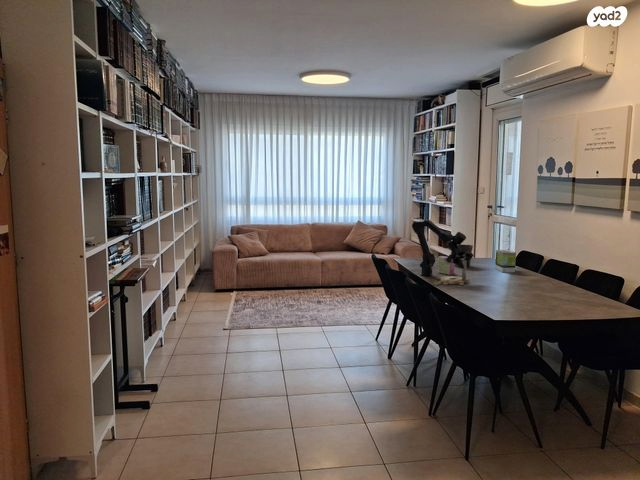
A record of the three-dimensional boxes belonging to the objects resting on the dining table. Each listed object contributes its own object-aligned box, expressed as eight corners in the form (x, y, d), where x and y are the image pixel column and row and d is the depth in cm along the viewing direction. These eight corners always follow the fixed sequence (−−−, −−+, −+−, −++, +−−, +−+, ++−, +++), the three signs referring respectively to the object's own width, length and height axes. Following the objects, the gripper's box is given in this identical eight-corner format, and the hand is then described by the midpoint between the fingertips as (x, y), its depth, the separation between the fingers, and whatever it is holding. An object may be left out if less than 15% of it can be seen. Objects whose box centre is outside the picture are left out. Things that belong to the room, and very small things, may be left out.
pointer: (435, 284, 316) (435, 281, 316) (433, 284, 318) (433, 280, 318) (441, 284, 318) (441, 280, 318) (438, 283, 320) (438, 280, 320)
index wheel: (431, 282, 322) (432, 259, 321) (445, 277, 338) (446, 255, 336) (459, 286, 310) (460, 262, 308) (472, 280, 326) (473, 258, 324)
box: (454, 273, 352) (454, 257, 351) (449, 274, 349) (450, 258, 347) (442, 271, 360) (442, 255, 359) (437, 272, 357) (438, 256, 355)
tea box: (515, 272, 356) (516, 252, 354) (501, 272, 356) (502, 252, 354) (508, 268, 371) (508, 249, 369) (494, 268, 371) (495, 249, 369)
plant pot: (446, 265, 387) (447, 244, 385) (462, 263, 394) (463, 243, 392) (460, 268, 373) (461, 247, 371) (477, 266, 379) (477, 246, 377)
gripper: (449, 241, 317) (461, 261, 308) (472, 240, 325) (483, 259, 316) (441, 252, 324) (452, 271, 316) (463, 251, 333) (474, 269, 324)
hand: (466, 267), depth 318 cm, fingers open, 4 cm apart
